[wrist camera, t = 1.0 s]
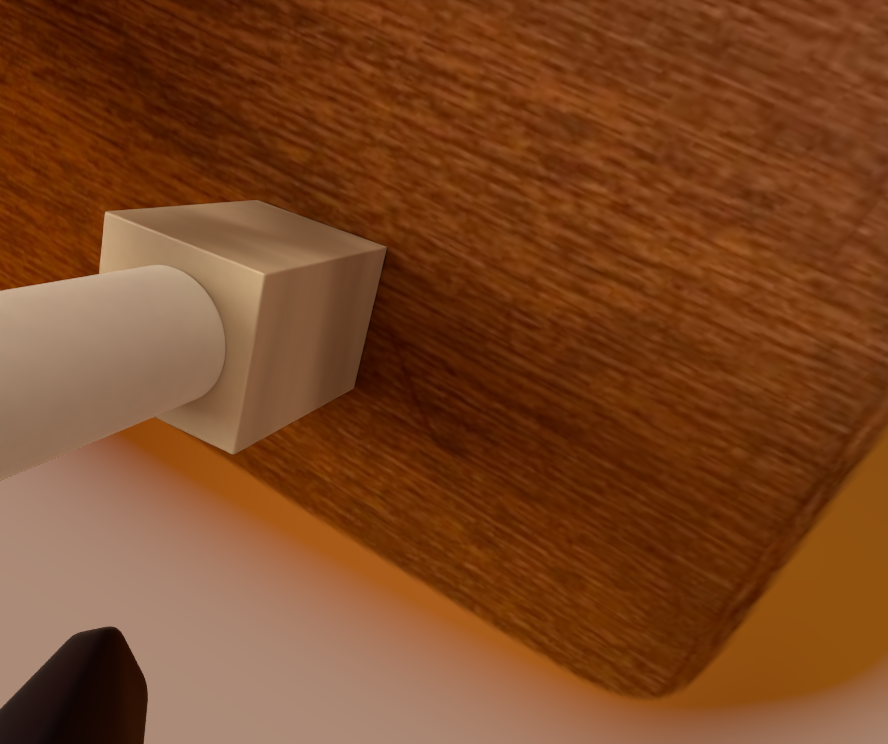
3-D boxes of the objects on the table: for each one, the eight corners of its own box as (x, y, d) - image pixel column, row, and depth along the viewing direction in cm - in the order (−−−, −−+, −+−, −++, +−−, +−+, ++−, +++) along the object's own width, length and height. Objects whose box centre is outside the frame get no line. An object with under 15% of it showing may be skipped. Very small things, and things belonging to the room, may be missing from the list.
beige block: (388, 246, 24) (265, 274, 18) (354, 389, 26) (233, 455, 20) (257, 199, 25) (103, 210, 19) (233, 337, 27) (87, 385, 21)
